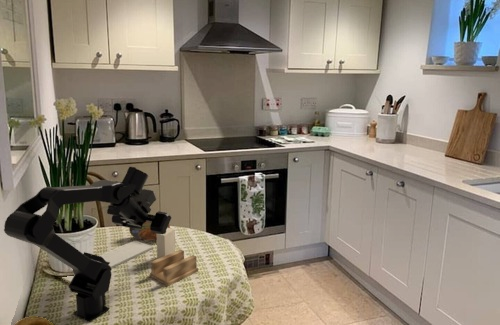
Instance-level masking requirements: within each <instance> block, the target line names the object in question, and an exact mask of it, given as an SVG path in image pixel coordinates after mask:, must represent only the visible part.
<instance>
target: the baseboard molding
mask: <svg viewBox="0 0 500 325" xmlns="http://www.w3.org/2000/svg"><path fill="white" fill-rule="evenodd" d="M135 239H136V238H134V237H133V236H132V238H131V241H130V242H127V243H125V244H123V245H120V246H118V247H116V248H113V249H111V250H108V251H107V252H105V253H104V252H103V253H101V254H100V255H99V254H98V256H101V257H102V258H103V259H104V260H105V261H107V262H110V264H109V266H110V267H111V269H113V268H116V267H118V266H120V265H122V264H124V263H126V262H128V261H131V260H132V259H135V258H137V257H139V256H141V255H144V254H145V253H148V252H149V251H152V250H153V249H154V246H153V245H154V244H153V243H152V244H151V243H149V242H146V241H145V240H143V239H140V240H139V239H136V240H135ZM149 244H150V245H149ZM151 245H152V246H151ZM73 277H74V276H67V277H62V279H63V280H62V279H61V280H62V281H64V280H65V281H64V282H66V283H67V282H68V284H69V285H70V283H71V281H72V279H73Z"/></svg>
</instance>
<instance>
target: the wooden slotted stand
mask: <svg viewBox="0 0 500 325" xmlns="http://www.w3.org/2000/svg"><path fill="white" fill-rule="evenodd" d="M197 272H199V268H198V267H197V256H196V255H194V254H191V255H190V256H187V257H185V251H184V250H183V249H181V248H180V249H178V250H175V252H173V253H171V254H169V255H166V256H164V257H161V258H159V259H157V258H156V259H154V260H152V261H150V273H149V276H150V277H151V278H153V279H155V280H156V281H158V282H161V283H162V284H164V285H166V286H167V287H169V286H171V285H173V284H176V283H178V282H180V281H182V280H184V279H186V278H188V277H189V276H192V275H194V274H196V273H197Z"/></svg>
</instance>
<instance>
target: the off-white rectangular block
mask: <svg viewBox="0 0 500 325" xmlns="http://www.w3.org/2000/svg"><path fill="white" fill-rule="evenodd" d="M175 230H176V229H175V228H171V227H170V228H167V229H166V234H163V235H162V234H156V235H157V240H156V260H157V259H159V258H161V257H164V256H166V255H169V254H171V253H173V252H176V231H175Z"/></svg>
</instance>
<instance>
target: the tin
mask: <svg viewBox="0 0 500 325" xmlns="http://www.w3.org/2000/svg"><path fill="white" fill-rule="evenodd" d="M150 225H151V223H149V222H145V223H144V224H143V225H142V229H137V228H130V227H128V228H129V232H130V235H131V237H132V238H133V237H134V238H133V239H135V238H136V240H138V239H139V240H138V241H141V240H140V239H143V240H144V241H157V235H156V233H153V232H152V231H151V230H150ZM170 226H171V225H170V224H169V225H168V227H167V228H171V227H170Z"/></svg>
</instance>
